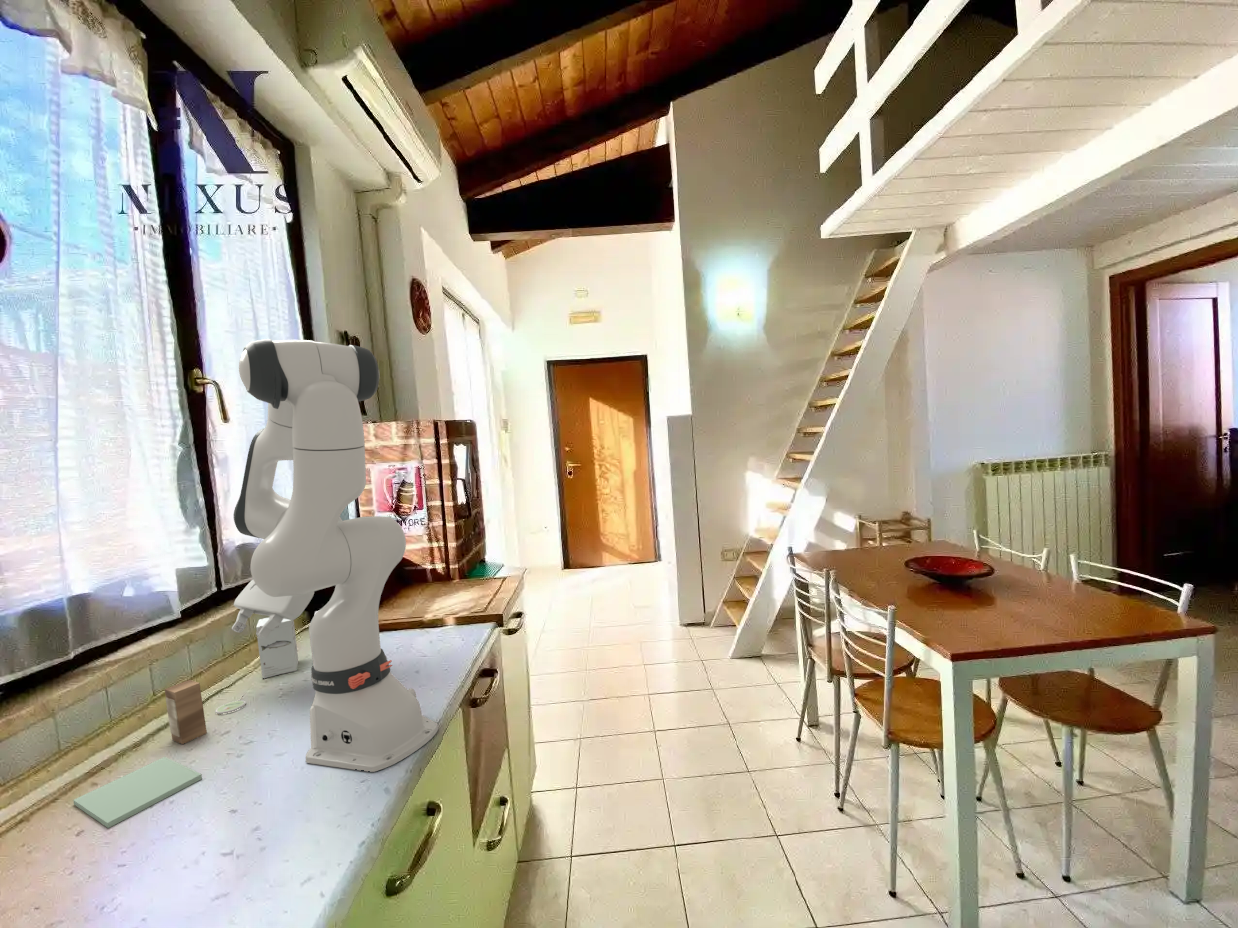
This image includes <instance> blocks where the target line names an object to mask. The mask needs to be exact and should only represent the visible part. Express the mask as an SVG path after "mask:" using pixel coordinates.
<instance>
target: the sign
mask: <svg viewBox="0 0 1238 928" xmlns="http://www.w3.org/2000/svg"><path fill="white" fill-rule="evenodd" d="M245 704H247V703H246V700H244V699H241V700H234V701H233V700H232V701H229V702H226V703H224V704H222V705H220V706H218V707H217V708H216V709H215V714H216V713H217V714H223V713H228V712H232V711H235V710H237V709H239V708H242V707H243V708H245V707H246V705H245ZM244 706H245V707H244ZM243 708H242V709H243Z"/></svg>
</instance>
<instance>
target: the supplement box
mask: <svg viewBox="0 0 1238 928" xmlns="http://www.w3.org/2000/svg"><path fill="white" fill-rule="evenodd" d="M268 620H269V617H264V618H260V619H258V621H257V624H256V627H255V628H256V629H255V630H256V632H257V631H258V629H259V627H260V626H263V625H264V624H265V623H266V622H267V621H268ZM295 629H296V628H295V622H294V620H289V619H283V620H282V622H281V623H280V624H279V625H278V626H277V627H275V628H274V629H273V630H271V632H270V633H269V635H268V636H267V637H266V638H263V637H260V636H258V635H256V637H257V646H258V654H259V662H260V670H261V679H263V678H264V679H267V678H270V677H274V676H278V675H283V674H287V673H292V672H297V671H298V666H299V656H298V644H297V637H296V636H297V635H296V630H295ZM264 679H263V680H264Z"/></svg>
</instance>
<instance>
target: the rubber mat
mask: <svg viewBox="0 0 1238 928" xmlns="http://www.w3.org/2000/svg"><path fill="white" fill-rule="evenodd" d="M202 775H203V774H202V773H200V772H198V771H196V770H194V769H192V768H189V767H187V766H186V765H183V764H181V763H179V762H177V761H175V760H172V759H171V758H168V757H166V756H163V757H161V758H159V759H156V760H155V761H153V762H151V763H149V764H147V765H144V766H142V767H140V768H138V769H136V770H133V771H131V772H130V773H127V774H125V775H123V776H121V777H119V778H116V779H115V780H112V781H110V782H108V783H106V784H104V785H102V786H100V787H98V788H96V789H93V790H91V791H89V792H87V793H85V794H82V795H81V796H78V797H76V798H74V799H73V800H72V801H73V805H74V806H75V805H76V806H75V807H77V808H78V809H80V810H81V811H83V812H84V813H86V814H87V815H88V816H89V817H92V818H93V819H94V820H96V821H97V822H98V823H100V824H102V825H103V826H104V827H106V828H107V829H110V828H112V827H113V826H116V825H117V824H119V823H121V822H123V821H124V820H126V819H128V818H130V817H132V816H134V815H136V814H138V813H140V812H141V811H144V810H146V809H147V808H149V807H152V806H154V805H155V804H156V803H159V802H160V801H162V800H165V799H166V798H168V797H171V796H172V795H174V794H175V793H178V792H180V791H182V790H184V789H186V788H188V787H189V786H191V785H193V784H195V783H197V782H198V781H200V780H202V779H203V776H202Z"/></svg>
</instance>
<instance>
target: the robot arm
mask: <svg viewBox="0 0 1238 928" xmlns="http://www.w3.org/2000/svg"><path fill="white" fill-rule="evenodd" d="M238 373H239V376H240V379H241V382H242V384H243V385H244V388H245V390H246V392H247V393H248V394H250V395H251V396H252V397H254V398H255V399H256V400H258V401H261V402H264V403H267V404H268V405H267V421H266V425H265V427H263V428H261V429H260V430H257V432H256V433H255V435H254V436H253V437H252V439H251V441H250V442H251V443H250V445H249V448H248V453H247V457H246V458H247V459H246V462H245V469H244V474H243V478H242V484H241V491H240V495H239V498H238V501H237V503H236V505H235V507H234V511H233V521H234V524H235V525H234V526H235V528H236V529H237V531H238V532H239V533H240V534H242V535H245V536H249V537H254V538H257V539H262V541H261V542H260V543H259V544H258V545H257V546H256V548H255V549H254V551H253V554H252V556H251V559H250V574H251V578H252V579H251V580H250V582H248V584H247V585H246V586H245V587H244V588H243V590H241V591H240V593H239V594H238V596H237V597H236V598H235V600H234V601H233V607H235V608H237V609H239V611H238V614H237V617H236V619H235V622H234V623H233V625H232V626H231V630H232V631H234V632H235V633H242V632H244V630H245V628H247V626H248V625H246V624H247V621H248V619H249V618H251V617H252V616H253V614H255V615H261V616H267V617H268V618H269V620H268V621H267V622H266V623H265V624H264V625H263V626H260V627H259V629H258V631H256V632H255V635H256V636H257V635H258V636H260V637H263V638H266V637H267V636H268V635H269V633H270V632H271V630H273V629H274V628H275V627H277V626H278V625H279V624H280V623H281V622H282V620H283V619H289V620H296V619H297V618H299V617H300V616H301V615H302V614H303V612H304V611H305V609H306V608H307V607H308V605H309V604H310V602H311V600H312V599H313V597H314V596H315V595H314V594H315V592H317V591H320V590H323V589H326V588H330V587H335V588H334V591H333V593H332V595H331V597H330V598H329V601H327V603H326V604H325V605H324V606H322V607H321V608H320V609H319V610H318V611H316V613H315V614H314V616H313V617H312V619H311V621H310V623H309V626H308V635H309V643H310V651H311V658H312V665H311V669H310V672H311V675H310V677H311V678H310V680H311V682H312V688H313V690H314V691H315V693H314V698H313V701H312V704H311V706H310V709H309V729H310V734H309V735H310V748H309V750H308V751H307V752H306V754H305V762H306V764H307V763H308V764H313V765H318V766H319V765H320V766H326V767H332V768H333V767H334V768H340V769H341V768H342V769H348V770H355V769H357V770H355V771H361V770H364V771H363V772H368V771H370V772H369V773H374V772H377V771H380V770H384V769H387V768H388V767H390V766H393V765H395V764H397V763H399V762H401V761H403V760H404V759H405V758H407V757H409V756H410V755H412V754H414V753H415V752H416V751H418V750H419V749H420V748H422V747H423V746H425V745H426V744H427V743H428V742H430V740H432V739H433V737H435V735H436V734H437V733H438V731H439V725H438V723H437V722H435V721H433V720H432V719H430V718H428V717H426V716H424V715H423V713H422V708H421V706H420V703H419V699H418V698H417V694H416V691H415V689H414V688H406V687H405V685H403V684H402V682H400V680H399V679H398V678H397V677H396V676H394V674H392V672H391V667H393V664H390V663H392V660H393V659H389V660H388V658H387V655H386V654H385V651H384V649H383V648H381V638H380V627H379V625H380V624H379V607H380V601H381V597H382V596H381V595H382V594H383V591H384V587H385V584H386V582H387V581H388V579H389V576H390V575H391V573H392V572H393V570H394V569H395V568H396V566H397V565H398V564H399V563H400V562H401V561H402V559H403V557H404V555H405V552H406V548H407V539H406V535H405V531H404V530H403V528H402V526H401V525H400V523H398V522H397V521H396V520H395V519H394V518H393V517H391V516H380V515H379V516H376V515H375V516H374V515H373V516H371V515H370V516H360V517H355V518H350V519H349V518H348V519H345V520H343V519H342V517H341V515H342V513H343V512H344V510H345V509H346V508H347V506H349V505H350V504H351V503H352V502H354V501H356V499H358V498H359V497H360V496H361V495H362V494H363V492H364V490H365V487H366V484H367V473H366V471H367V470H366V469H367V468H366V467H367V466H366V446H365V431H364V423H363V422H364V421H363V417H362V412H361V408H360V404H359V402H362V401H366V400H370V399H371V398H372V397H373V396H374V395H376V393H377V391H378V388H379V383H380V368H379V365H378V361H377V358H376V357H375V355H374V354H373V352H372V351H371V350H369V349H368V348H365V347H361V346H358V345H355V344H354V345H353V344H349V345H344V344H338V343H330V342H325V341H323V342H322V341H314V340H312V339H310V340H309V339H308V340H307V339H285V340H284V339H281V340H272V339H271V338H266V339H257V340H253V341H249V342H248V343H247V344H246V345H245V346H244V347H243V350H242V353H241V356H240V358H239V362H238ZM279 461H293V463H292V464H293V466H292V467H293V474H292V475H293V478H292V480H293V481H292V494H291V498H290V499H289V498H286V497H283V496H281V495H279V494H278V493H277V492H276V491H275V490H274V488H273V486H274V481H275V476H276V473H277V466H278V462H279Z"/></svg>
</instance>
